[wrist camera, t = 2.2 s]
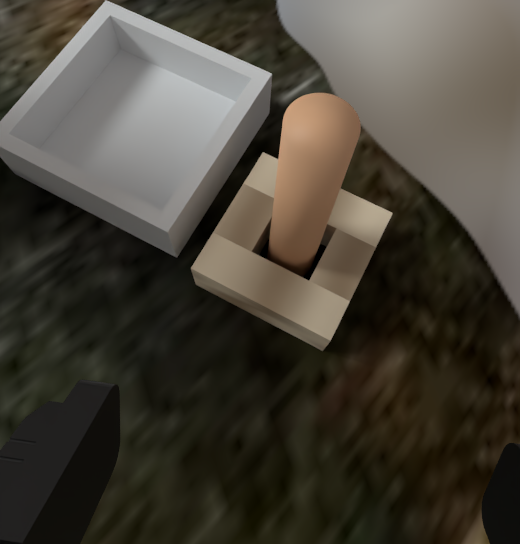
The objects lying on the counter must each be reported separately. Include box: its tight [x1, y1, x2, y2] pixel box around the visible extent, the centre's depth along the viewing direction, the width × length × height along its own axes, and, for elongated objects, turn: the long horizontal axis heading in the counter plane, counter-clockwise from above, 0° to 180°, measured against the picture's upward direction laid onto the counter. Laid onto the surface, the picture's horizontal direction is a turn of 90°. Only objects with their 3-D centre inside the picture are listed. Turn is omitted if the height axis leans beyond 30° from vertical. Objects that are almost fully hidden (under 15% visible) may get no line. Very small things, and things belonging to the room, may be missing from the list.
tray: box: [0, 0, 272, 258], centre depth 33 cm, size 13×13×4 cm
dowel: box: [267, 93, 361, 277], centre depth 25 cm, size 3×3×14 cm
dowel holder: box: [191, 152, 392, 351], centre depth 30 cm, size 9×9×3 cm
